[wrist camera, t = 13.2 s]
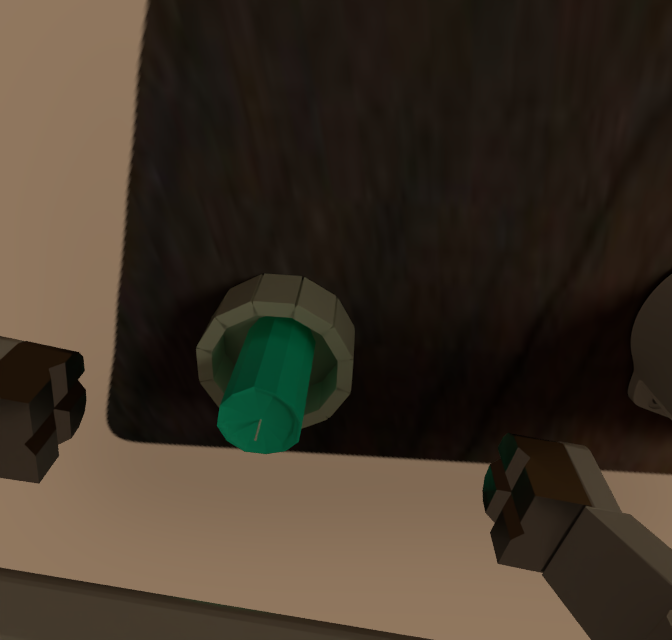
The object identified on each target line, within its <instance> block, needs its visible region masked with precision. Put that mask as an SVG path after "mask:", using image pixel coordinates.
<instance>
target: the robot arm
mask: <svg viewBox="0 0 672 640" xmlns="http://www.w3.org/2000/svg"><path fill="white" fill-rule="evenodd" d="M631 353H632V358H633V363H634V372H633V374H632V377H631V380H630V383H629V387H628V396H629V398H630V399H631V400H632V401H633V402H634V403H635V404H636V405H637V406H639V407H642V408H644V409H647V410H650V411H652V412H655V413H657V414H660V415H663V416H665V417H668V418H670V419H671V420H672V274H671V275H670V276H668V277H667V278H666V279H665V280H664V281H663V282H662V283H661V284H660V285H658V287H657V288H656V289H655V290H654V291H653V292H652V293H651V294H650V296H649V297H648V298H647V300H646V301H645V303H644V304H643V306H642V307H641V309H640V311H639V313H638V315H637V317H636V319H635V322H634V325H633V329H632V334H631ZM84 371H85V369H84V360H83V356H82V355H81V354H80V353H79V352H76V351H71V350H66V349H61V348H56V347H52V346H47V345H42V344H37V343H33V342H28V341H21V340H17V339H12V338H6V337H2V336H0V478H6V479H12V480H19V481H26V482H34V483H40V481H41V480H42V479H43V477H44V476H45V475H46V473H47V472H48V470H49V469H50V467H51V466H52V465H53V463H54V462H55V461H56V459H57V458H58V456H59V452H58V444H61V443H63V442H65V441H67V440H69V439H71V438H72V436H73V435H74V433H75V432H76V430H77V429H78V428H79V425H80V423H81V420H82V418H83V415H84V412H85V405H86V390H85V388H84V387H83V386H82V384H81V383H80V382H79V381H78V379H79V378H80V376H81V375H82V374H83V372H84ZM498 450H499V453H500V457H501V458H500V459H498V460H497V461H495V462H493V463H492V464H490V466H489V468H488V470H487V473H486V475H485V479H484V485H483V503H484V508H485V513H486V514H487V515H488V516H489V517H490V518H491V519H492V520H493V521H494V522H495V524H494V526H493V528H492V530H491V532H490V534H491V538H492V542H493V546H494V550H495V554H496V558H497V563H498V564H502V565H507V566H512V567H517V568H521V569H526V570H531V571H536V572H541V573H543V574H542V576H543V577H544V578H545V579H546V581H547V582H548V584H549V585H550V586H551V587H552V589H553V590H554V591H555V593H556V594H557V595H558V597H559V598H560V599H561V601H562V602H563V603H564V605H565V606H566V607H567V608H568V610H569V611H570V612H571V614H572V615H573V616H574V618H575V619H576V620H577V622H578V623H579V624H580V626H581V627H582V628H583V630H584V631H585V632H586V634H587V635H588V636H589V637H590V639H591V640H672V549H671V548H669V547H668V546H667V545H666V544H665V543H664V542H662V541H661V540H660V539H659V538H658V537H656V536H655V535H654V534H653V533H652V532H650V531H649V530H648V529H647V528H646V527H644V526H643V525H642V524H641V523H640V522H639V521H637V520H636V519H635V518H634V517H633V516H632V515H630V514H626V513H622V512H621V510H620V508H619V506H618V504H617V502H616V500H615V498H614V496H613V494H612V492H611V490H610V489H609V486H608V485H607V483H606V481H605V479H604V477H603V475H602V473H601V471H600V469H599V467H598V465H597V463H596V461H595V459H594V457H593V455H592V454H591V452H590V450H589V449H588V448H587V447H585V446H584V445H578V444H572V443H565V442H555V441H549V440H544V439H538V438H533V437H527V436H522V435H516V434H511V433H507V434H506V435H505V436H504V437H503V438H502V441H501V443H500V445H499V447H498ZM0 640H431V639H426V638H420V637H413V636H407V635H400V634H395V633H389V632H383V631H377V630H371V629H365V628H359V627H353V626H347V625H341V624H335V623H329V622H323V621H317V620H311V619H305V618H299V617H293V616H287V615H281V614H275V613H269V612H263V611H257V610H251V609H245V608H239V607H233V606H227V605H221V604H215V603H209V602H203V601H197V600H191V599H185V598H179V597H173V596H167V595H161V594H155V593H149V592H144V591H137V590H132V589H126V588H119V587H113V586H108V585H101V584H96V583H89V582H83V581H78V580H71V579H66V578H59V577H53V576H47V575H41V574H35V573H29V572H23V571H17V570H11V569H5V568H0Z"/></svg>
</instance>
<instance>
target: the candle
mask: <svg viewBox="0 0 672 640" xmlns="http://www.w3.org/2000/svg"><path fill="white" fill-rule="evenodd" d="M315 344H316V342H315V339H314V337H313V335H312V332H311V330H310V328H309V327H307V326H305V325H303V324H302V323H300V322H298V321H296V320H295V319H293V318H288V317H274V316H265V317H261V318H259V319H258V320H257V321H256V323H255V324H254V325H253V326H252V327H251V328H250V329H249V331H248V334H247V336H246V339H245V341H244V344H243V347H242V349H241V352H240V354H239V357H238V359H237V362H236V365H235V367H234V370H233V372H232V375H231V378H230V380H229V383H228V385H227V388H226V391H225V393H224V396H223V398H222V401H221V404H220V407H219V414H218V421H217V427H218V428H219V430H220V431H221V433H222V434H223V436H224V437H225V439H226V440H227V441H228V442H230V443H231V444H233V445H235V446H236V447H238V448H239V449H241V450H243V451H244V452H253V453H261V454H270V453H276V452H283V451H286V450H288V449H289V448H291V447H292V446H294V445H295V444H296V443H298V442H299V438H300V433H301V428H302V423H303V417H304V411H305V405H306V399H307V393H308V386H309V380H310V374H311V368H312V362H313V356H314V350H315Z"/></svg>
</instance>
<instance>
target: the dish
mask: <svg viewBox="0 0 672 640" xmlns="http://www.w3.org/2000/svg"><path fill="white" fill-rule="evenodd" d="M265 316H274V317H288V318H293V319H295V320H296V321H298V322H300V323H302V324H303V325H305V326H307V327H309V328H310V330H311V332H312V335H313V337H314V339H315V342H316V344H315V350H314V356H313V362H312V368H311V374H310V380H309V386H308V393H307V399H306V405H305V411H304V417H303V423H302V428H305V427H308V426H311V425H313V424H316V423H319V422H322V421H324V420H327V419H328V418H330V417H331V416H332V415H333V413H334V412H335V411H336V410H337V409H338V408H339V406H340V405H341V404H342V403H343V402H344V400H345V399H346V398H347V397H348V396H349V395H350V392H351V384H352V372H353V358H354V337H355V329H354V325H353V323H352V322H351V320H350V318H349V316H348V315H347V313H346V311H345V309H344V308H343V306H342V304H341V302H340V300H339V299H338V298H336V296H335V295H334V294H332V293H330V292H329V291H327V290H325V289H324V288H322V287H320V286H319V285H317V284H315V283H314V282H312V281H310V280H309V279H307V278H305V277H304V278H303V280H302V276H292V275H278V274H264V275H262V274H261V275H259V276H256V277H254V278H252V279H250V280H248V281H246V282H243V283H241V284H239V285H237V286H235V287H233V288H230V290H228V292H227V293H226V295H225V297H224V298H223V300H222V302H221V303H220V305H219V306H218V308H217V310H216V311H215V313H214V315H213V316H212V318H211V320H210V322H209V324H208V326H207V328H206V330H205V331H204V333H203V335H202V337H201V339H200V341H199V343H198V345H197V348H196V355H197V365H198V375H199V381H201V382H200V384H201V385H202V386H203V387H204V389H205V390H206V391H207V393H208V394H209V395H210V397H211V398H212V399H213V400H214V402H215V403H216V404H217V406H218V407H220V404H221V401H222V398H223V396H224V393H225V391H226V388H227V385H228V383H229V380H230V378H231V375H232V372H233V370H234V367H235V365H236V362H237V359H238V357H239V354H240V352H241V349H242V347H243V344H244V341H245V339H246V336H247V334H248V331H249V329H250V328H251V327H252V326H253V325H254V324H255V323H256V321H257V320H258V319H259V318H261V317H265ZM302 428H301V429H302Z"/></svg>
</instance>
